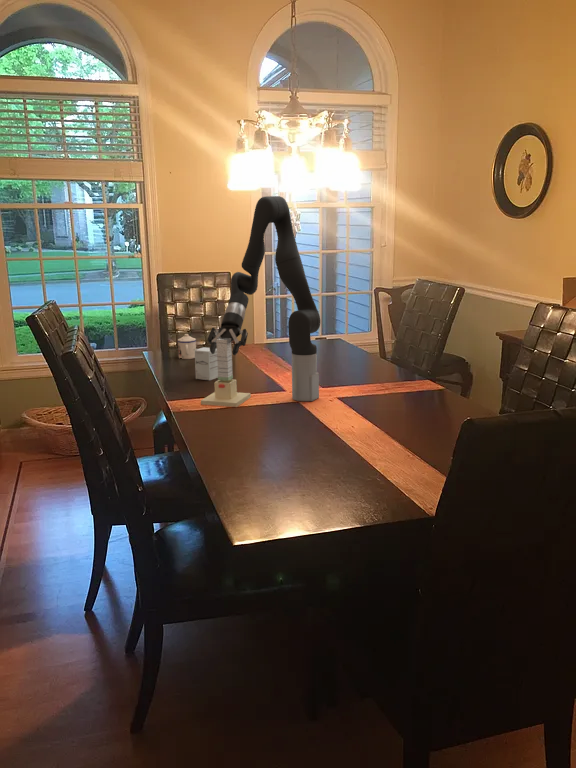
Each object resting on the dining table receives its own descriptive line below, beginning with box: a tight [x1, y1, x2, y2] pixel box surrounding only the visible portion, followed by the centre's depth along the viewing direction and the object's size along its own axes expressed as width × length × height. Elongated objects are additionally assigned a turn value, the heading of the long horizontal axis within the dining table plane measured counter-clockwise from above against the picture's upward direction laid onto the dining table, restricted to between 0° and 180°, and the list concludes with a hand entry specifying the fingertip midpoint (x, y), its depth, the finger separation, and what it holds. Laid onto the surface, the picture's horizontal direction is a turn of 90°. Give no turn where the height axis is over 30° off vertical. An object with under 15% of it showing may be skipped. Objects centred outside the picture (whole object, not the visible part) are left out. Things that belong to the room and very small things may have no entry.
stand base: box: [200, 378, 252, 408], centre depth 240 cm, size 14×14×8 cm
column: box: [216, 337, 234, 381], centre depth 237 cm, size 4×4×15 cm
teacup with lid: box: [177, 333, 197, 360], centre depth 317 cm, size 12×9×12 cm
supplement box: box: [194, 347, 218, 381], centre depth 275 cm, size 7×7×13 cm
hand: (222, 353), depth 235 cm, fingers open, 8 cm apart
